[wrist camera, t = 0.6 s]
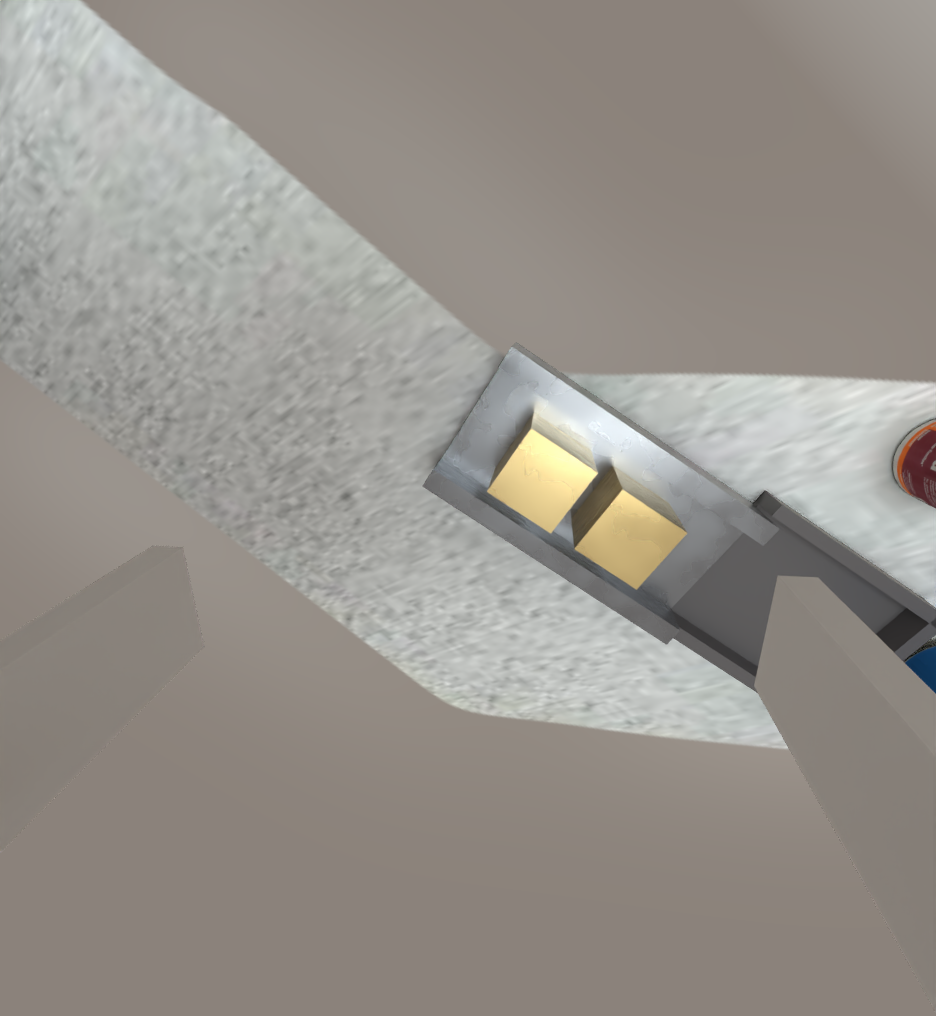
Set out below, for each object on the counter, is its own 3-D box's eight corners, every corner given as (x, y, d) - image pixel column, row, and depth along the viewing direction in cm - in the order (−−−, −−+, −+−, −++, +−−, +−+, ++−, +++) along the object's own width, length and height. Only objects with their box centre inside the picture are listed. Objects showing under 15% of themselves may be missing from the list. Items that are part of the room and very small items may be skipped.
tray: (654, 609, 35) (661, 630, 33) (765, 490, 32) (782, 504, 29) (799, 704, 36) (816, 731, 34) (923, 598, 33) (952, 621, 30)
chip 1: (495, 468, 32) (486, 491, 28) (533, 412, 31) (531, 428, 26) (550, 504, 32) (550, 533, 28) (591, 451, 31) (597, 473, 27)
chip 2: (571, 518, 32) (574, 549, 28) (612, 465, 31) (622, 489, 27) (625, 554, 33) (636, 589, 29) (669, 503, 31) (687, 532, 27)
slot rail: (436, 467, 34) (422, 486, 30) (516, 342, 31) (511, 346, 27) (654, 609, 35) (666, 644, 32) (753, 503, 32) (779, 529, 28)
